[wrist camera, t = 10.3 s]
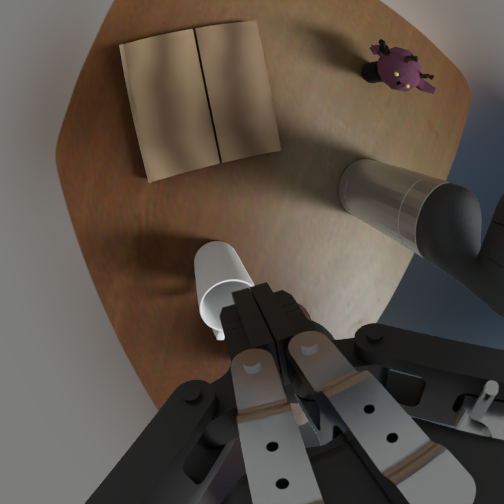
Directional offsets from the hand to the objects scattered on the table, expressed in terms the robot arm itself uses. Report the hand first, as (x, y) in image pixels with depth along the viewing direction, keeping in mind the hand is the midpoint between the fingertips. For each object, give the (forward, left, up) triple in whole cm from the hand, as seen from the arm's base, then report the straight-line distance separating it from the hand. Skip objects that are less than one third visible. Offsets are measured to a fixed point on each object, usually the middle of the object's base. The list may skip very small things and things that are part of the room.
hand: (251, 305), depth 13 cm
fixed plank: (-7, -11, -29) cm, 32 cm away
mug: (+1, +13, -29) cm, 32 cm away
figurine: (-28, -12, -29) cm, 42 cm away
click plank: (+2, -11, -29) cm, 31 cm away
